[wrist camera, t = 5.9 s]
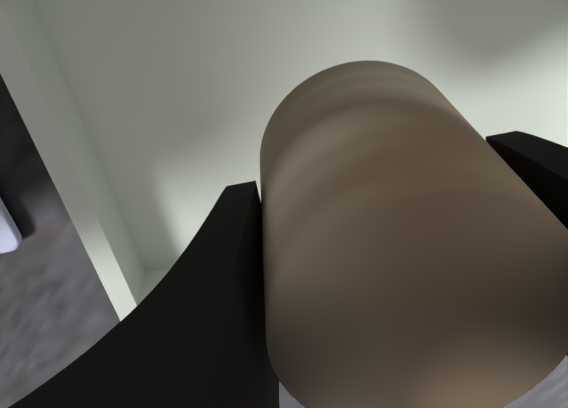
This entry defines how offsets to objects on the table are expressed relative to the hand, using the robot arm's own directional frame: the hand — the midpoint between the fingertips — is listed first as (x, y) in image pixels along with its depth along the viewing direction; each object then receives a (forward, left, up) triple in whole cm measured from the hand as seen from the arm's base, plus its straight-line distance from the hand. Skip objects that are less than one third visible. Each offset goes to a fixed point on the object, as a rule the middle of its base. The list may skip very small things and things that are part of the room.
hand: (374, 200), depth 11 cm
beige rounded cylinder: (0, 0, -2) cm, 2 cm away
